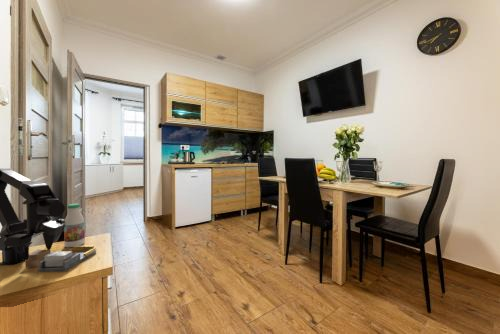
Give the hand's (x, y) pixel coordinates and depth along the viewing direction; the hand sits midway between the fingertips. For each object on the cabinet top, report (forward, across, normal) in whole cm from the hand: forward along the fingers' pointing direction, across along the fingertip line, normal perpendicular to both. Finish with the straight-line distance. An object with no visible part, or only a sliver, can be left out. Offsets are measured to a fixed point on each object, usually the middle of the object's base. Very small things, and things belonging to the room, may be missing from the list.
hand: (38, 254), depth 84 cm
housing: (+4, 0, 0) cm, 4 cm away
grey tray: (+4, +2, -11) cm, 12 cm away
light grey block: (+2, -2, -11) cm, 11 cm away
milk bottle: (+4, +20, +1) cm, 21 cm away
